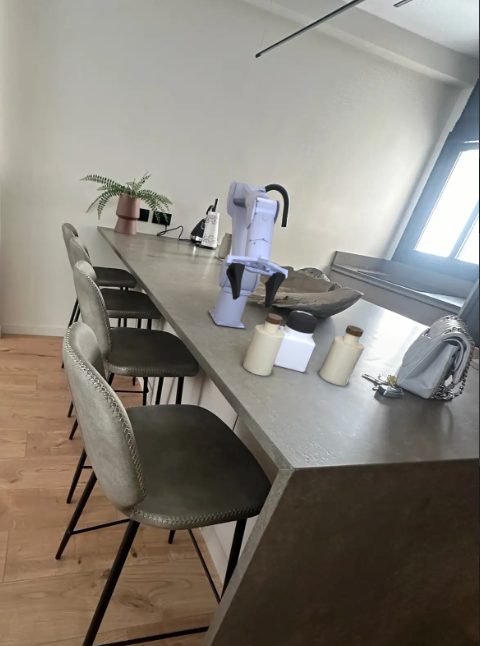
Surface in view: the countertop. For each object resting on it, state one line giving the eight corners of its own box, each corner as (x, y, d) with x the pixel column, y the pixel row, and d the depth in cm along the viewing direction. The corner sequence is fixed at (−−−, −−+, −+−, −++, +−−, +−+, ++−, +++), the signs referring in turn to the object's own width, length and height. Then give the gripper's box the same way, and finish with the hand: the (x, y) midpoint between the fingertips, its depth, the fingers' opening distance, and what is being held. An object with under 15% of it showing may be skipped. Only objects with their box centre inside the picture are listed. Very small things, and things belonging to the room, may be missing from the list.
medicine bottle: (304, 373, 82) (325, 323, 77) (272, 365, 83) (290, 315, 77) (299, 359, 88) (318, 313, 83) (269, 351, 89) (286, 305, 84)
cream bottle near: (239, 359, 82) (255, 308, 77) (264, 363, 83) (282, 312, 78) (247, 373, 76) (266, 320, 71) (274, 377, 77) (294, 324, 72)
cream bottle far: (314, 369, 84) (335, 320, 79) (338, 372, 85) (360, 324, 80) (327, 383, 79) (350, 332, 74) (352, 387, 80) (377, 336, 75)
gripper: (236, 229, 79) (228, 288, 76) (297, 246, 81) (292, 304, 78) (223, 244, 86) (216, 299, 83) (280, 260, 88) (275, 313, 85)
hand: (252, 302), depth 81 cm, fingers open, 7 cm apart
